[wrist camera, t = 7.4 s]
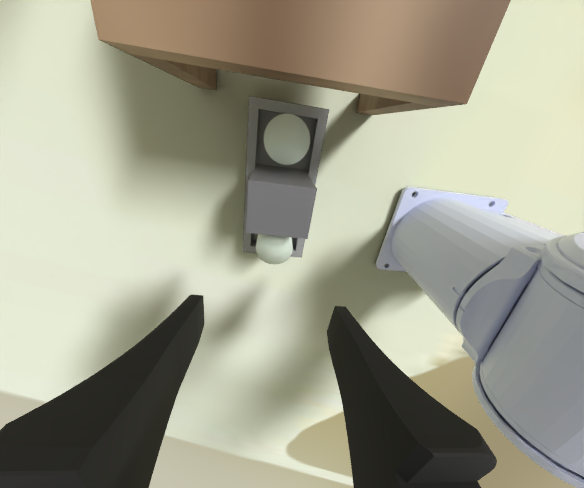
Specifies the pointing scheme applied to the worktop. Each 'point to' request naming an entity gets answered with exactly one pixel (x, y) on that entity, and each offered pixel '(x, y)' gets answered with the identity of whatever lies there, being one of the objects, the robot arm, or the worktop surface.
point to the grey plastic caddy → (281, 176)
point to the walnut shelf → (316, 44)
